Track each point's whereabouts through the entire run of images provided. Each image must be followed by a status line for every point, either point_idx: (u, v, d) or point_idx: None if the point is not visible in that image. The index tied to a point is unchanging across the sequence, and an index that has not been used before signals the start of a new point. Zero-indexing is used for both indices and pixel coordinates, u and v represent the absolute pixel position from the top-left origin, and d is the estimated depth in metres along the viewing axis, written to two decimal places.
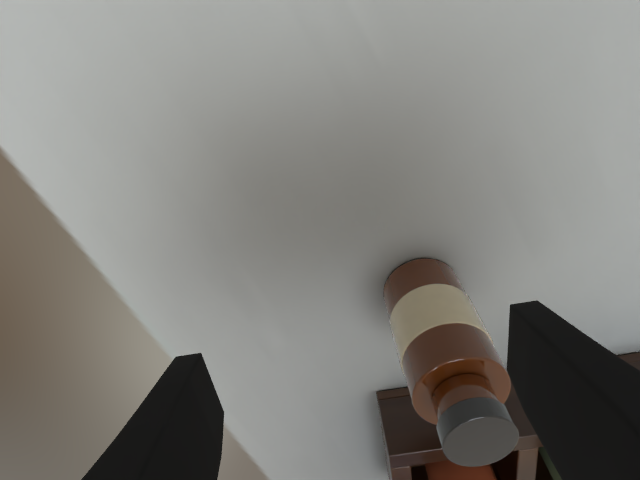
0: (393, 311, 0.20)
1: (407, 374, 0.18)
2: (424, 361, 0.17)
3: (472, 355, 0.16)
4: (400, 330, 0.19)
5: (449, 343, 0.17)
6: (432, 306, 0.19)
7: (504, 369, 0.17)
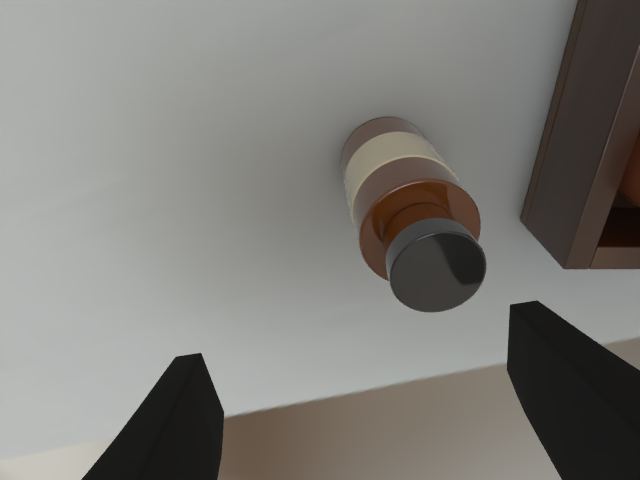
0: None
1: None
2: None
3: (361, 223, 0.14)
4: None
5: (356, 228, 0.15)
6: (348, 202, 0.16)
7: (395, 187, 0.13)
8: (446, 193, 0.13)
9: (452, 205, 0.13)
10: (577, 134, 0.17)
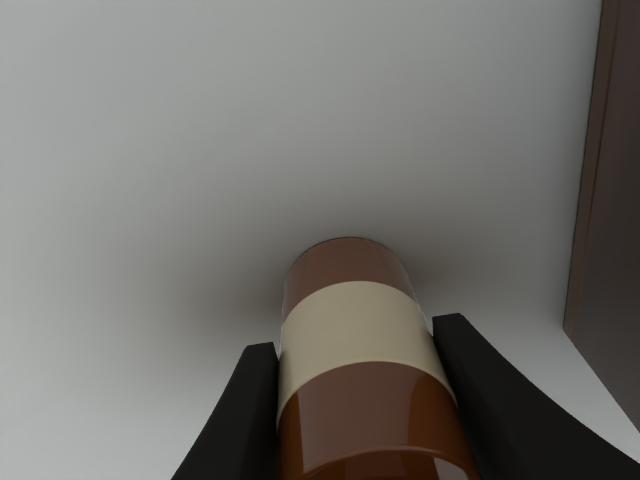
0: None
1: None
2: None
3: None
4: None
5: None
6: None
7: (314, 467, 0.07)
8: (410, 462, 0.07)
9: (427, 476, 0.07)
10: (634, 238, 0.10)
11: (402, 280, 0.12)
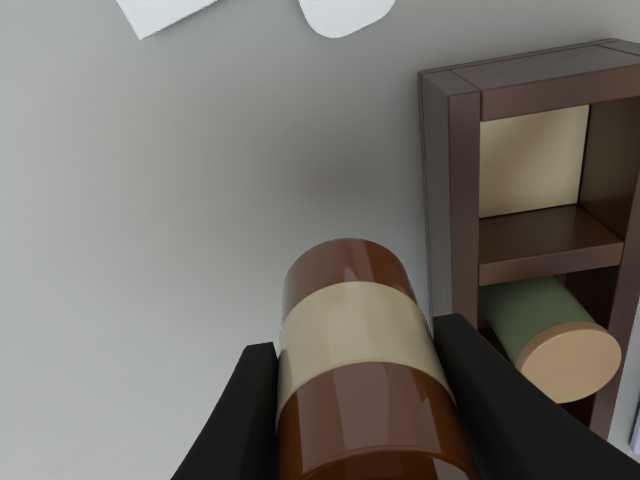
0: None
1: None
2: None
3: None
4: None
5: None
6: None
7: (312, 468, 0.07)
8: (408, 463, 0.07)
9: (425, 476, 0.07)
10: None
11: (401, 280, 0.12)
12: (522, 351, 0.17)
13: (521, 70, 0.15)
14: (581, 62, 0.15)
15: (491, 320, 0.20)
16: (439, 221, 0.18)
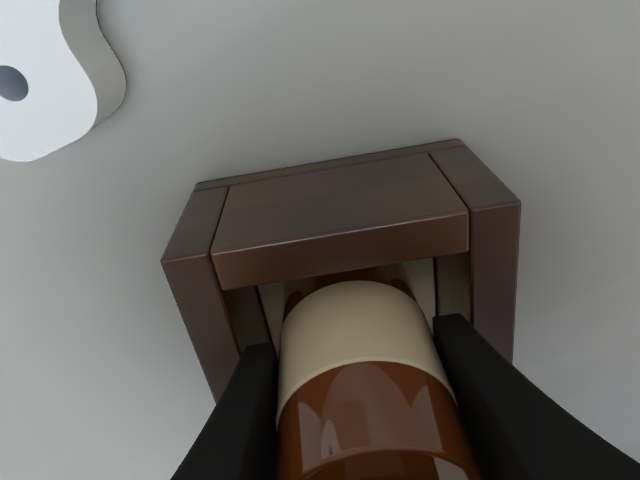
0: None
1: None
2: None
3: None
4: None
5: None
6: None
7: (313, 467, 0.07)
8: (410, 462, 0.07)
9: (426, 476, 0.07)
10: None
11: (402, 280, 0.12)
12: None
13: (298, 204, 0.11)
14: (378, 196, 0.10)
15: None
16: None
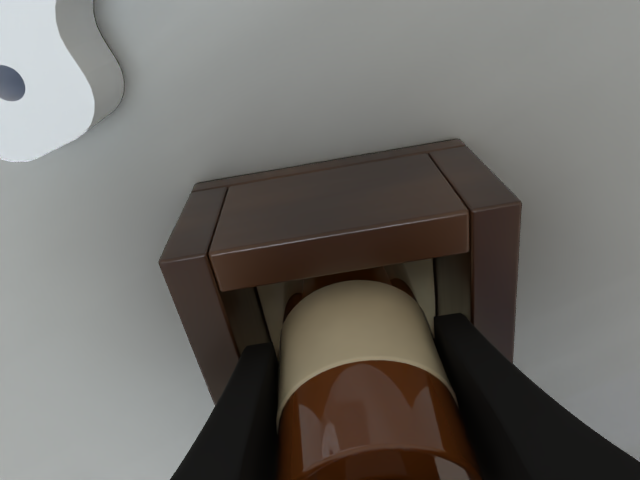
0: None
1: None
2: None
3: None
4: None
5: None
6: None
7: (314, 466, 0.07)
8: (410, 461, 0.07)
9: (427, 475, 0.07)
10: None
11: (402, 279, 0.12)
12: None
13: (297, 204, 0.11)
14: (377, 196, 0.10)
15: None
16: None
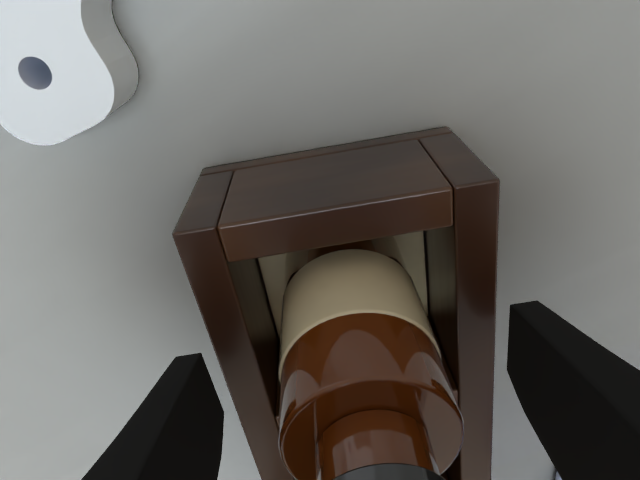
0: None
1: None
2: None
3: (278, 441, 0.09)
4: None
5: None
6: None
7: (312, 396, 0.08)
8: (395, 391, 0.08)
9: (410, 404, 0.09)
10: None
11: (393, 251, 0.13)
12: None
13: (297, 184, 0.12)
14: (370, 177, 0.11)
15: None
16: None
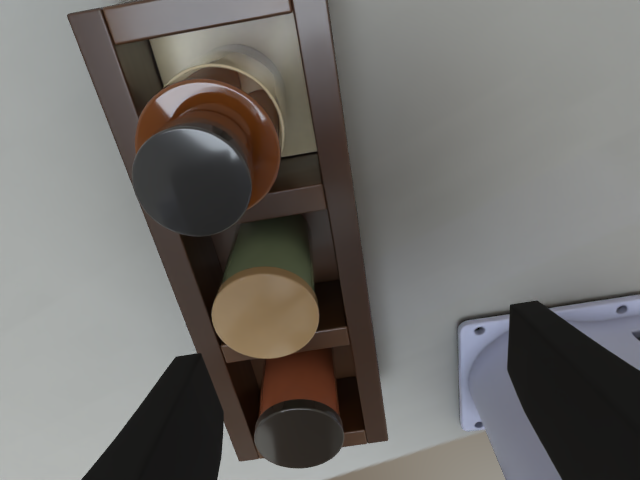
0: None
1: None
2: None
3: (135, 149, 0.12)
4: None
5: None
6: None
7: (153, 98, 0.11)
8: (215, 94, 0.11)
9: (229, 109, 0.11)
10: None
11: (267, 65, 0.16)
12: None
13: None
14: None
15: None
16: None
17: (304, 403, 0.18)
